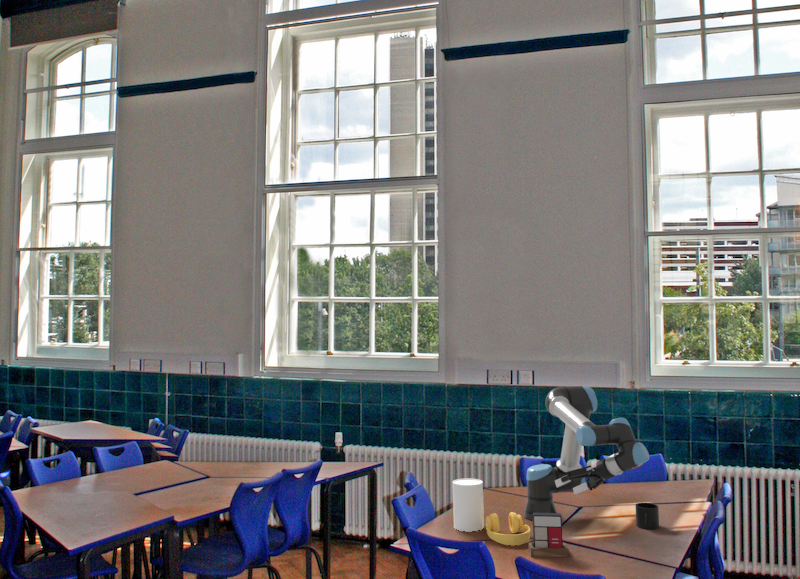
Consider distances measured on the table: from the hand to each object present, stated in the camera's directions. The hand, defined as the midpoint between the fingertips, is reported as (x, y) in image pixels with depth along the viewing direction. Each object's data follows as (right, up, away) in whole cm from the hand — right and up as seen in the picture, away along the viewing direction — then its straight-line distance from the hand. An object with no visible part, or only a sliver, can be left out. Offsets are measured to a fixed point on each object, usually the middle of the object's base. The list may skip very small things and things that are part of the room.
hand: (565, 487), depth 263 cm
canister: (-36, -26, +27) cm, 52 cm away
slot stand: (-9, -23, -9) cm, 26 cm away
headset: (-21, -25, +11) cm, 35 cm away
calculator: (-9, -23, -9) cm, 26 cm away
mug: (+42, -24, +21) cm, 52 cm away
